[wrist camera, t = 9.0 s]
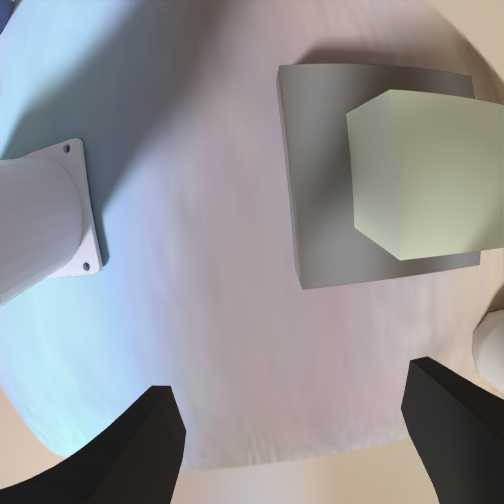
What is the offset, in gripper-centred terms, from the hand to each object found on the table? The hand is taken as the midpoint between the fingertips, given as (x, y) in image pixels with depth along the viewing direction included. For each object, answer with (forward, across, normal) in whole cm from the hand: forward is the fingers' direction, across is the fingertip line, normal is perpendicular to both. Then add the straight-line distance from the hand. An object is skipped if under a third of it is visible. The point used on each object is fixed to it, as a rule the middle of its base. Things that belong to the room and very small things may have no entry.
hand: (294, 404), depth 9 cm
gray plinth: (+9, -6, -6) cm, 13 cm away
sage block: (+6, -6, -6) cm, 11 cm away
